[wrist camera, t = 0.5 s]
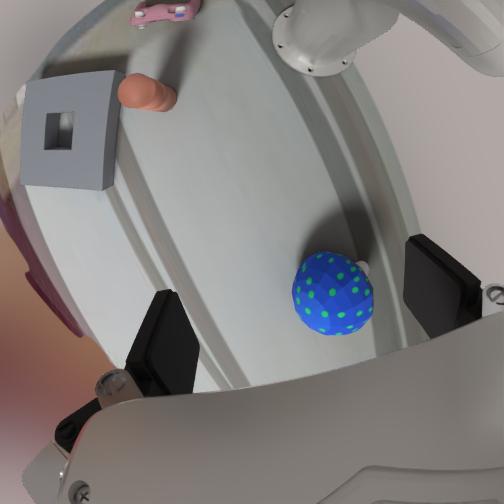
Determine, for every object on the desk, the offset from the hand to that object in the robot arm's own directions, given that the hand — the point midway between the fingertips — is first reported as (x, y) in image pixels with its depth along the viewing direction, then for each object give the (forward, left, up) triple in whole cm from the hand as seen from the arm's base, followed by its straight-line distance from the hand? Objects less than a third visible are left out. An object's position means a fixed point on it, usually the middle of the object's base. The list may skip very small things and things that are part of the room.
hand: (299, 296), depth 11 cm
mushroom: (+15, +14, -33) cm, 39 cm away
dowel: (-9, -16, -33) cm, 37 cm away
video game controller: (-23, -18, -33) cm, 44 cm away
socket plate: (-4, -32, -33) cm, 46 cm away
